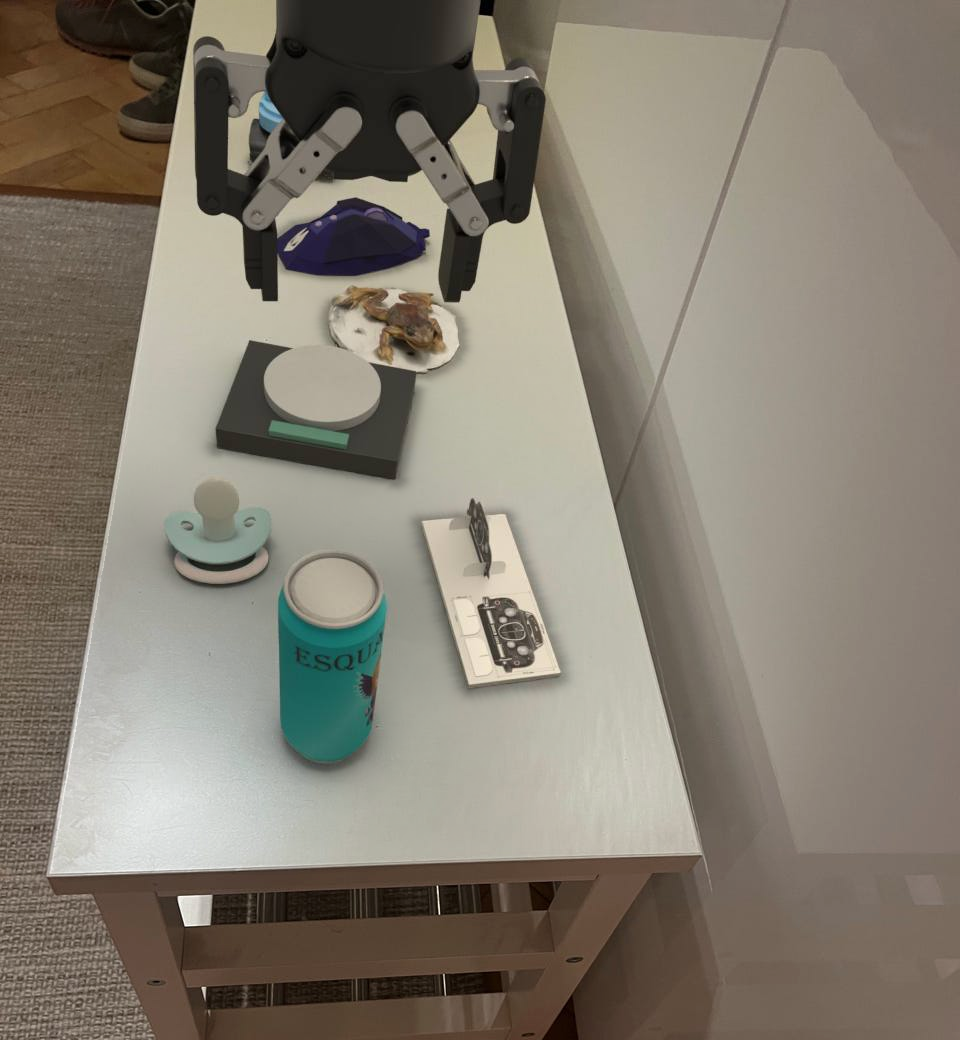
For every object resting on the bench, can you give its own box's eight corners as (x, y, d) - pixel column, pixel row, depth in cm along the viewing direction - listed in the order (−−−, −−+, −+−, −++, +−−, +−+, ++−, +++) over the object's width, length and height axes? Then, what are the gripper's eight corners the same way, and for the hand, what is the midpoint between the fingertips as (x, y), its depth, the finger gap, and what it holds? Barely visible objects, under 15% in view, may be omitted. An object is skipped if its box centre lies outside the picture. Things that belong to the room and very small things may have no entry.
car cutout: (421, 524, 75) (427, 482, 72) (504, 517, 77) (514, 476, 73) (467, 688, 67) (477, 650, 64) (559, 676, 69) (574, 638, 65)
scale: (216, 447, 77) (214, 418, 74) (250, 359, 83) (248, 329, 81) (395, 479, 78) (398, 451, 75) (414, 389, 84) (417, 361, 82)
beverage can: (367, 776, 62) (385, 635, 50) (274, 768, 61) (270, 624, 50) (374, 699, 66) (392, 550, 54) (286, 691, 65) (285, 538, 53)
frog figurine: (486, 359, 88) (493, 323, 85) (363, 387, 83) (366, 350, 80) (429, 284, 93) (434, 247, 90) (310, 306, 89) (311, 268, 86)
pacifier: (277, 585, 70) (269, 520, 73) (276, 527, 65) (268, 460, 68) (169, 592, 68) (166, 525, 71) (159, 534, 63) (156, 465, 66)
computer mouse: (264, 223, 95) (263, 183, 92) (410, 212, 100) (414, 174, 97) (290, 281, 90) (290, 242, 87) (442, 267, 95) (447, 229, 92)
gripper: (556, -133, 38) (489, 249, 51) (167, -180, 34) (201, 242, 47) (609, -50, 34) (521, 343, 47) (172, -94, 30) (208, 343, 43)
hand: (359, 292), depth 47 cm, fingers open, 8 cm apart
